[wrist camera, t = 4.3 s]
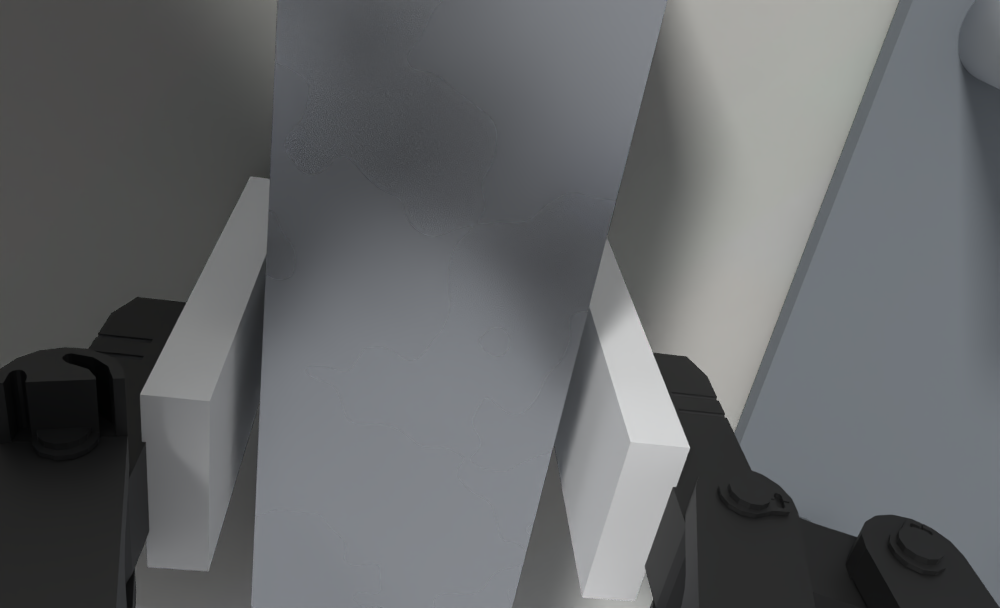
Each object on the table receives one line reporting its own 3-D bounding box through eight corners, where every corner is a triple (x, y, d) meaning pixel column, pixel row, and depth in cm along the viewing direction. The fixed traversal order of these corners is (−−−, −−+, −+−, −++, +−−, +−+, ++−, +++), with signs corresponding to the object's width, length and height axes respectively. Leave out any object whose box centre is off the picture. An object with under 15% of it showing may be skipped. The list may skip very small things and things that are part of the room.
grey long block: (459, 601, 21) (465, 829, 16) (278, 588, 21) (230, 821, 16) (627, -188, 13) (736, -190, 8) (333, -248, 12) (267, -287, 8)
